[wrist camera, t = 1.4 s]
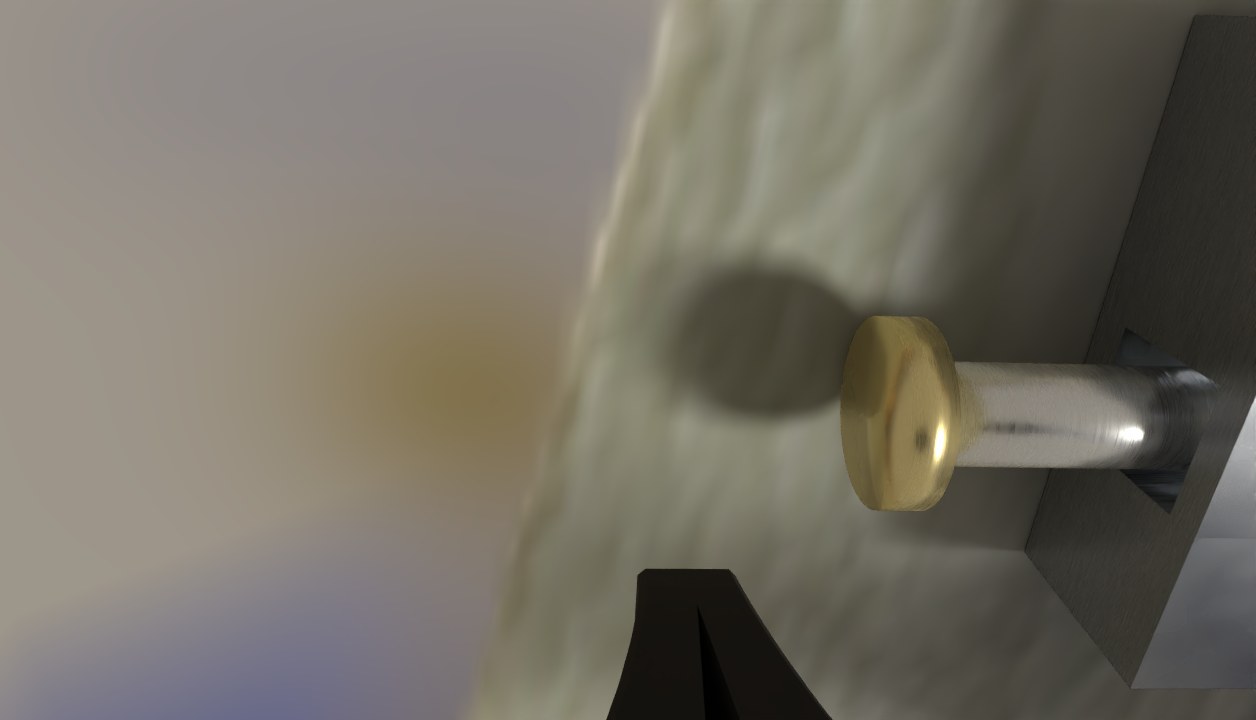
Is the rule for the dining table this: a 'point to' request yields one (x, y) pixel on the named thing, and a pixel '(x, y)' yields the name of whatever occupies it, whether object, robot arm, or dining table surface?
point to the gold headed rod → (1001, 414)
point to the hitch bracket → (1192, 337)
